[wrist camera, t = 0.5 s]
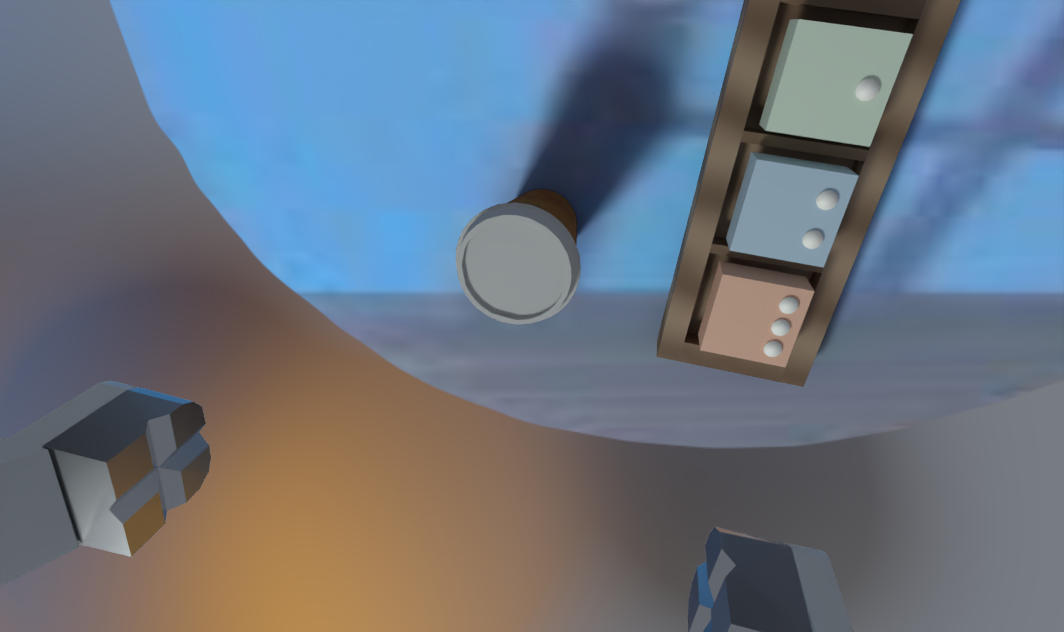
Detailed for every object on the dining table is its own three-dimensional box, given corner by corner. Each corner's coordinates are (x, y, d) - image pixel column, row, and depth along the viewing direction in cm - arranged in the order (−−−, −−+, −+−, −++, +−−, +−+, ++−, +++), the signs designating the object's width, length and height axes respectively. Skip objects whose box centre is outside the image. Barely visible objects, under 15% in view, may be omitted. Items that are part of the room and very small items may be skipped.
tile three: (719, 260, 49) (722, 275, 46) (806, 276, 48) (815, 292, 45) (698, 333, 52) (700, 351, 49) (778, 349, 51) (785, 368, 48)
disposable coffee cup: (588, 164, 50) (568, 200, 39) (600, 268, 54) (585, 326, 43) (482, 177, 52) (437, 215, 42) (501, 275, 56) (465, 333, 46)
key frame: (752, -33, 42) (758, -37, 39) (945, -9, 40) (965, -12, 37) (657, 341, 56) (656, 356, 53) (796, 369, 54) (803, 386, 52)
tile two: (751, 151, 44) (757, 159, 42) (846, 166, 44) (859, 176, 41) (725, 238, 48) (730, 251, 45) (814, 253, 47) (824, 268, 44)
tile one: (789, 19, 40) (799, 19, 37) (896, 33, 39) (914, 34, 37) (759, 124, 43) (766, 131, 41) (857, 139, 43) (870, 147, 40)
